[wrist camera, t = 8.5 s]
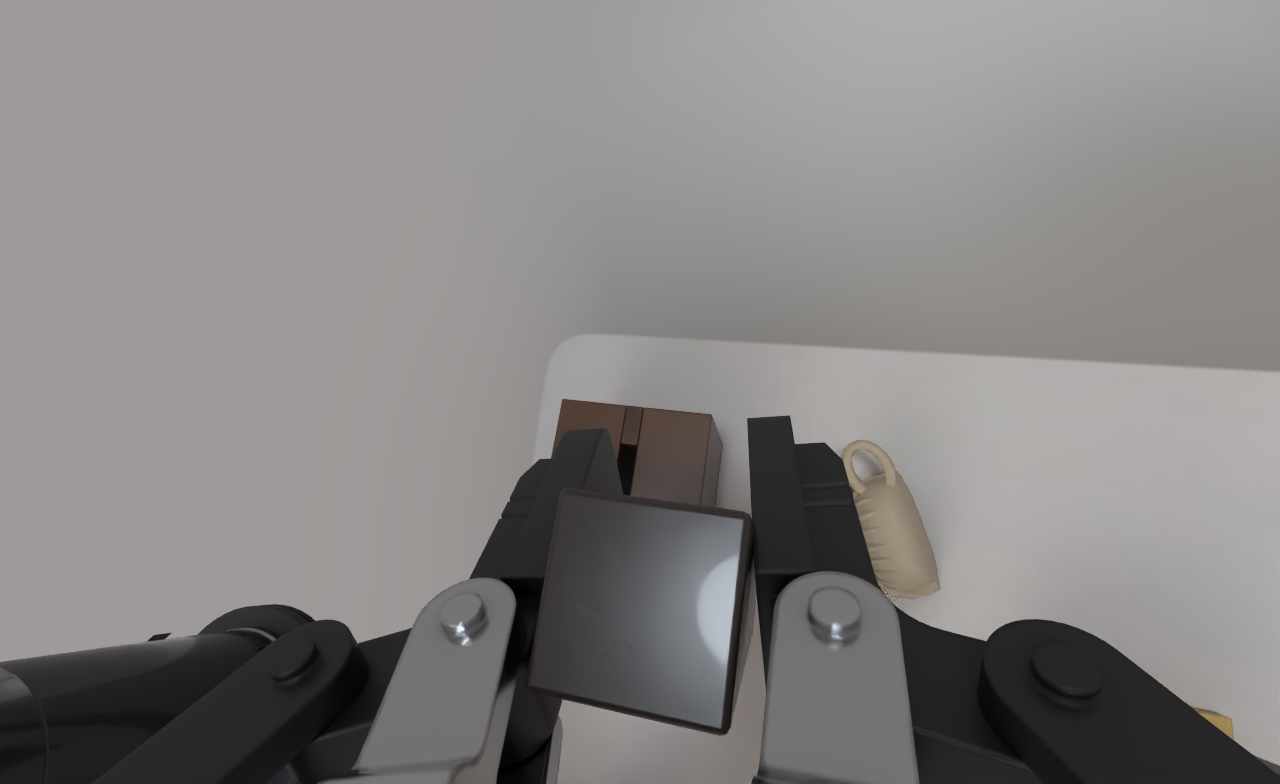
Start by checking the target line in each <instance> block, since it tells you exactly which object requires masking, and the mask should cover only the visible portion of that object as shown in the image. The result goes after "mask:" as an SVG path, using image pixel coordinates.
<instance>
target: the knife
mask: <svg viewBox="0 0 1280 784" xmlns="http://www.w3.org/2000/svg"><path fill="white" fill-rule="evenodd" d="M753 535H754V524H753V521H752V519H751V517H750V515H749V514H747V513H745V512H743V511H736V510H729V509H722V508H714V507H707V506H700V505H693V504H686V503H679V502H671V501H664V500H657V499H650V498H643V497H635V496H628V495H621V494H614V493H607V492H600V491H592V490H585V489H578V488H571V487H568V488H565V489H563V490H562V491H561V493H560V497H559V502H558V508H557V513H556V519H555V524H554V530H553V535H552V540H551V546H550V551H549V557H548V562H547V568H546V573H545V579H544V584H543V590H542V595H541V600H540V606H539V611H538V617H537V622H536V628H535V633H534V639H533V644H532V650H531V655H530V660H529V666H528V671H527V677H526V688H527V689H528V690H530V691H531V692H533V693H537V694H542V695H546V696H550V697H555V698H559V699H563V700H568V701H572V702H576V703H581V704H585V705H589V706H593V707H598V708H602V709H606V710H611V711H615V712H619V713H624V714H628V715H632V716H636V717H641V718H645V719H649V720H654V721H658V722H662V723H667V724H671V725H675V726H679V727H684V728H688V729H692V730H697V731H701V732H705V733H710V734H714V735H718V736H721V735H726V734H727V733H728V731H729V729H730V727H731V723H732V719H733V714H734V710H735V706H736V702H737V697H738V693H739V689H740V685H741V681H742V676H743V672H744V668H745V664H746V659H747V655H748V651H749V647H750V642H751V638H752V634H753V624H754V614H755V604H756V594H757V593H756V583H755V573H754V553H753Z"/></svg>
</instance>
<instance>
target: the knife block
mask: <svg viewBox="0 0 1280 784" xmlns="http://www.w3.org/2000/svg"><path fill="white" fill-rule="evenodd" d="M600 428H606V429H607V430H608V432H609V434H610V437H611V440H612V445H613V449H614V454H615V458H616V462H617V467H618V471H619V476H620V480H621V485H622V489H623V494H624V495H628V496H635V497H643V498H650V499H657V500H664V501H671V502H679V503H686V504H693V505H700V506H707V507H714V508H715V504H716V496H717V488H718V479H719V471H720V463H721V454H722V446H723V444H722V441H721V439H720V436H719V433H718V431H717V428H716V425H715V422H714V420H713V417H712V415H711V414H701V413H692V412H682V411H673V410H663V409H654V408H643V407H635V406H625V405H616V404H606V403H597V402H587V401H577V400H568V399H563V400H562V404H561V410H560V415H559V420H558V426H557V431H556V436H555V441H554V447H553V452H552V457H551V459H553V457H554V454H555V452H556V450H557V448H558V445H559V443H560V441H561V439H562V436H563V434H564V433H565V432H566V431H571V430H585V429H600Z"/></svg>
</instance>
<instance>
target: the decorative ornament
mask: <svg viewBox="0 0 1280 784" xmlns="http://www.w3.org/2000/svg"><path fill="white" fill-rule="evenodd" d="M858 450H866V451H868V452H870V453H872V454H873V455H874V456H875V457H876V458H877V459H878V460H879V461H880V463H881V465H882V467H883V469H884V471H885V473H882V474H878V475H875V476H872V477H870V478H868V479H866V480H865V481H863V482H862V481H861V480H860V479H859V478H858V476H857V475H856V473H855V472H854V469H853V466H852V456H853V454H854V453H855V452H856V451H858ZM842 460H843V462H844V466H845V470H846V473H847V477H848V480H849V484H850V485H851V486H852V488H853V489H854V492H853V493H852V495H853V498H854V504H855V505H856V509H857V513H858V516H859V520H860V523H861V527H862V530H863V534H864V538H865V541H866V545H867V548H868V552H869V555H870V559H871V563H872V566H873V570H874V573H875V577H876V579H877V582H878V585H879V586H882V587H883V588H884V589H885V590H886V591H887V593H888V594H890V595H892V596H898V597H903V598H918V597H922V596H926V595H928V594H931V593H933V592H936V591H938V590H939V589H940V586H939V581H938V576H937V574H938V572H937V566H936V561H935V558H934V555H933V551H932V548H931V545H930V542H929V540H928V537H927V534H926V531H925V529H924V526H923V523H922V520H921V518H920V515H919V513H918V510H917V508H916V505H915V502H914V500H913V497H912V495H911V493H910V491H909V489H908V488H907V486H906V484H905V483H904V481H903V479H902V477H901V476H900V474H899V473H898V472H897V471H895V468H894V465H893V463H892V461H891V459H890V458H889V456H888V455H887V453H886V452H885V451H884V450H883V449H882V448H880V447H879V446H878V445H876V444H874V443H872V442H870V441H865V440H858V441H854V442H852V443H850V444H849V445H848V446H847V447H846V448H845V450H844V453H843V455H842Z"/></svg>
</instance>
